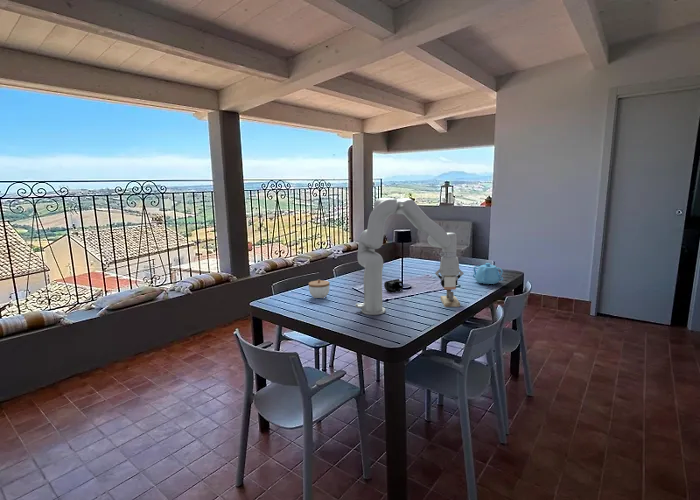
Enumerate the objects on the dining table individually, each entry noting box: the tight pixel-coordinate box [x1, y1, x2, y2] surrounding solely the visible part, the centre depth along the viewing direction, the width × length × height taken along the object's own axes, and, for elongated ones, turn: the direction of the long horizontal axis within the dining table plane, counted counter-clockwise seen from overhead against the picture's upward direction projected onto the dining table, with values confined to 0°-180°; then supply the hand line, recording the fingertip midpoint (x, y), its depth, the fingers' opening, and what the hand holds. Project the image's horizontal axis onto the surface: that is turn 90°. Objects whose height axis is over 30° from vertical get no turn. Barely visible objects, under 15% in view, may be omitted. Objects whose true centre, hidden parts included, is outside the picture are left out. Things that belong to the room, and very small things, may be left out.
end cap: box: [383, 278, 404, 293], centre depth 231 cm, size 10×7×7 cm
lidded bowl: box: [308, 279, 331, 299], centre depth 219 cm, size 13×13×11 cm
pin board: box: [440, 290, 461, 308], centre depth 201 cm, size 8×14×7 cm, turn 175°
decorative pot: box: [472, 262, 504, 285], centre depth 242 cm, size 16×16×14 cm
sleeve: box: [442, 276, 457, 291], centre depth 204 cm, size 6×6×7 cm
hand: (449, 286), depth 204 cm, fingers closed on sleeve, 6 cm apart
